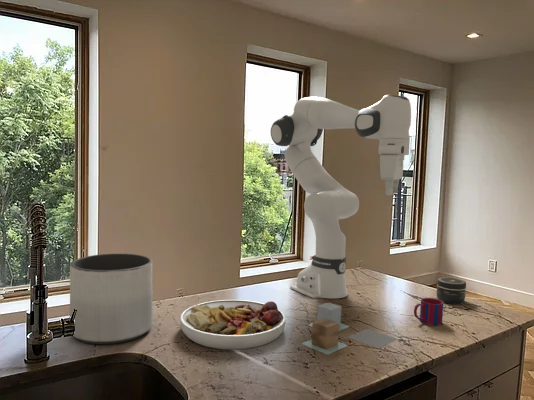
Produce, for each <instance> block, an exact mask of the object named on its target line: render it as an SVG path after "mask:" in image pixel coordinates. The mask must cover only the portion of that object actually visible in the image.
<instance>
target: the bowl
mask: <svg viewBox="0 0 534 400" xmlns="http://www.w3.org/2000/svg"><path fill="white" fill-rule="evenodd" d="M179 323H180V324H179V325H180V327H181V328H180V329H181V331H182V332H183V333H184V335H185V336H186V337H187V338H188V339H190V340H191V341H193V342H194V343H196V344H199V345H201V346H204V347H206V348H207V347H208V348H211V349H219V350H232V351H233V350H240V349H241V350H242V349H243V350H245V349H251V348H256V347H261V346H263V345H266V344H267V345H268V344H269V343H272V342H273V341H275V340H276V339H278V337H280V335H281V334H282V333H283V331H284V328H285V327H286V315H285V313H284V312H283V311H282V310H280V309H279V308H278V305H277V303H276V302H275V301H270V300H269V301H267V302H265V303H263V302H259V301H253V300H247V299H244V300H243V299H218V300H211V301H205V302H201V303H197V304H194V305H192V306H190V307H188V308H186V309H185V310H184V311H183V312H182V313H181V314H180V315H179Z"/></svg>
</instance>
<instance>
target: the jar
mask: <svg viewBox="0 0 534 400" xmlns="http://www.w3.org/2000/svg"><path fill="white" fill-rule="evenodd" d="M466 290H467V282H466V280H463V279H460V278H458V277H457V278H456V277H450V276H443V277H438V278H437V282H436V299H438V300H441V301H443V304H444V303H445V304H448V305H461V304H464V302H465V300H466V292H467V291H466Z"/></svg>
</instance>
